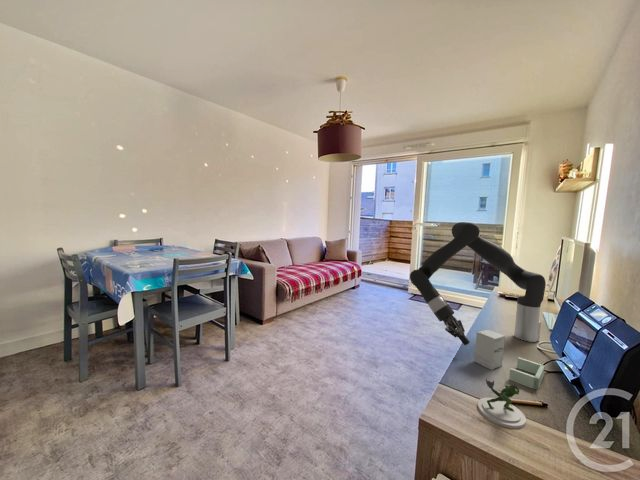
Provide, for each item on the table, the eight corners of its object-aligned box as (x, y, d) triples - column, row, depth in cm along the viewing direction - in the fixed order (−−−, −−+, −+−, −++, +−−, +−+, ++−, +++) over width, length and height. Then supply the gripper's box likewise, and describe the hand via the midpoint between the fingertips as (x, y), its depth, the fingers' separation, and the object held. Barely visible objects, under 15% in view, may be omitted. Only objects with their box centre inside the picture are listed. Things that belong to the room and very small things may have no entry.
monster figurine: (523, 435, 74) (527, 399, 73) (473, 413, 82) (476, 380, 81) (527, 412, 83) (530, 380, 82) (481, 395, 91) (484, 365, 90)
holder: (509, 379, 100) (510, 369, 100) (517, 366, 109) (518, 357, 109) (537, 390, 94) (538, 379, 94) (543, 375, 103) (544, 365, 103)
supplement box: (491, 370, 106) (494, 338, 105) (473, 361, 112) (475, 331, 111) (502, 366, 109) (505, 335, 108) (484, 357, 116) (486, 328, 115)
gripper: (440, 306, 117) (469, 344, 109) (452, 301, 126) (480, 335, 119) (427, 315, 122) (454, 352, 114) (440, 309, 131) (465, 343, 123)
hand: (467, 344), depth 116 cm, fingers closed
